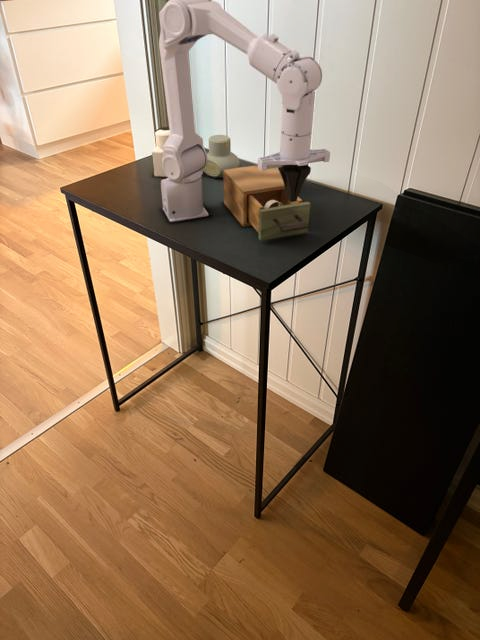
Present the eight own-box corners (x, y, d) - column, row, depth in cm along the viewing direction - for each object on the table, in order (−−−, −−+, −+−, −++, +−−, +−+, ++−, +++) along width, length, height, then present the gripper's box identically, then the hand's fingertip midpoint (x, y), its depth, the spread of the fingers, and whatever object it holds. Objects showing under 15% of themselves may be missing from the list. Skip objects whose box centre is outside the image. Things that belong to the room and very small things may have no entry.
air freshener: (196, 173, 138) (194, 137, 132) (215, 165, 143) (214, 130, 137) (225, 183, 133) (224, 146, 126) (244, 174, 138) (245, 138, 131)
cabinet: (292, 218, 117) (295, 183, 111) (243, 227, 113) (243, 191, 108) (270, 195, 127) (271, 163, 121) (223, 203, 123) (223, 169, 118)
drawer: (318, 242, 106) (321, 213, 102) (269, 251, 103) (270, 222, 98) (284, 208, 119) (285, 181, 114) (240, 216, 115) (240, 188, 111)
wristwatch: (260, 222, 110) (260, 202, 107) (276, 216, 113) (277, 195, 110) (268, 227, 109) (269, 206, 106) (285, 220, 111) (286, 200, 108)
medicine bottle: (160, 167, 142) (156, 124, 134) (185, 168, 141) (182, 125, 134) (154, 176, 136) (149, 132, 129) (179, 178, 136) (175, 133, 128)
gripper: (269, 142, 87) (266, 213, 95) (341, 133, 91) (332, 202, 99) (254, 131, 92) (253, 199, 101) (323, 122, 96) (316, 188, 105)
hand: (291, 199), depth 100 cm, fingers closed
